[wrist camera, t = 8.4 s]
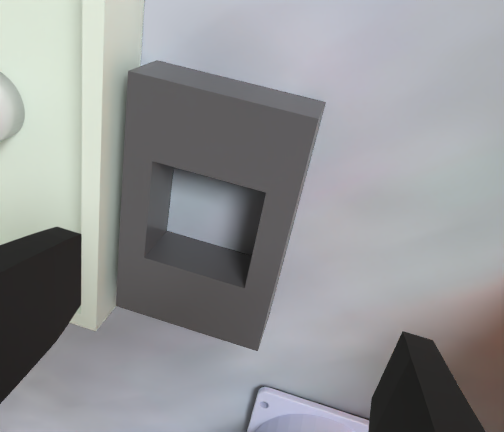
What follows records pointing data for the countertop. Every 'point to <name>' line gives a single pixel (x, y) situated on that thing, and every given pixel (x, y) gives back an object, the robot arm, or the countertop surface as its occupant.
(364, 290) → the countertop surface
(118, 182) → the parts tray
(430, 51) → the countertop surface
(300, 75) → the countertop surface
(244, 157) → the fuse holder
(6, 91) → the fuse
